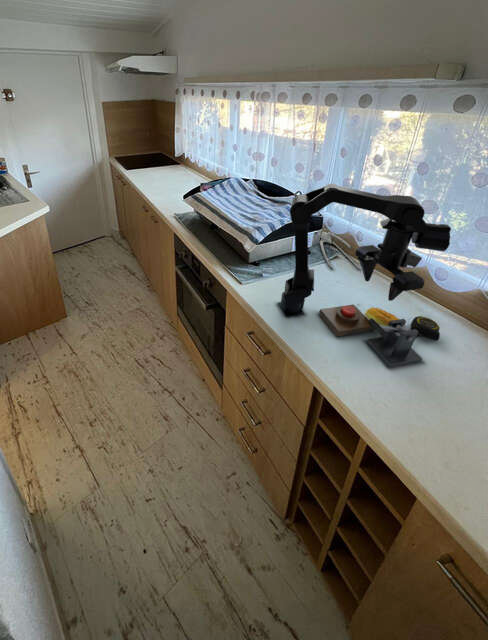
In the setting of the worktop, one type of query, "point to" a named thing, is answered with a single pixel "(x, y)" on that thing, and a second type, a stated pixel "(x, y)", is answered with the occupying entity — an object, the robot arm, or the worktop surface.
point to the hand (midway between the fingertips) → (378, 290)
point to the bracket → (396, 346)
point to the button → (348, 311)
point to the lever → (387, 328)
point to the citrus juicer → (326, 238)
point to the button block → (345, 321)
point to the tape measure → (426, 327)
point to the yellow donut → (380, 316)
